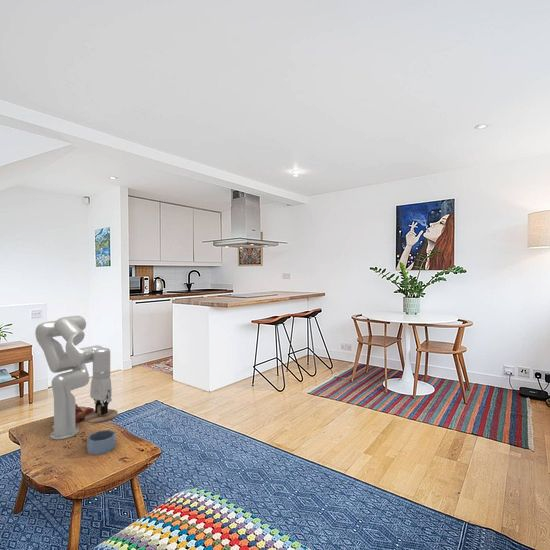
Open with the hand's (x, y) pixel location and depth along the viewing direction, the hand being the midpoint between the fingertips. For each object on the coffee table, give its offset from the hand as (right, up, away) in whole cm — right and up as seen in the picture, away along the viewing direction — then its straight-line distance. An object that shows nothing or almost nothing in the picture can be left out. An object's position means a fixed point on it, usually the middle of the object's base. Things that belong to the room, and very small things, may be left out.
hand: (101, 412), depth 165 cm
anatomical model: (-31, -17, +34) cm, 49 cm away
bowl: (0, -17, 0) cm, 17 cm away
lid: (0, -2, 0) cm, 2 cm away
